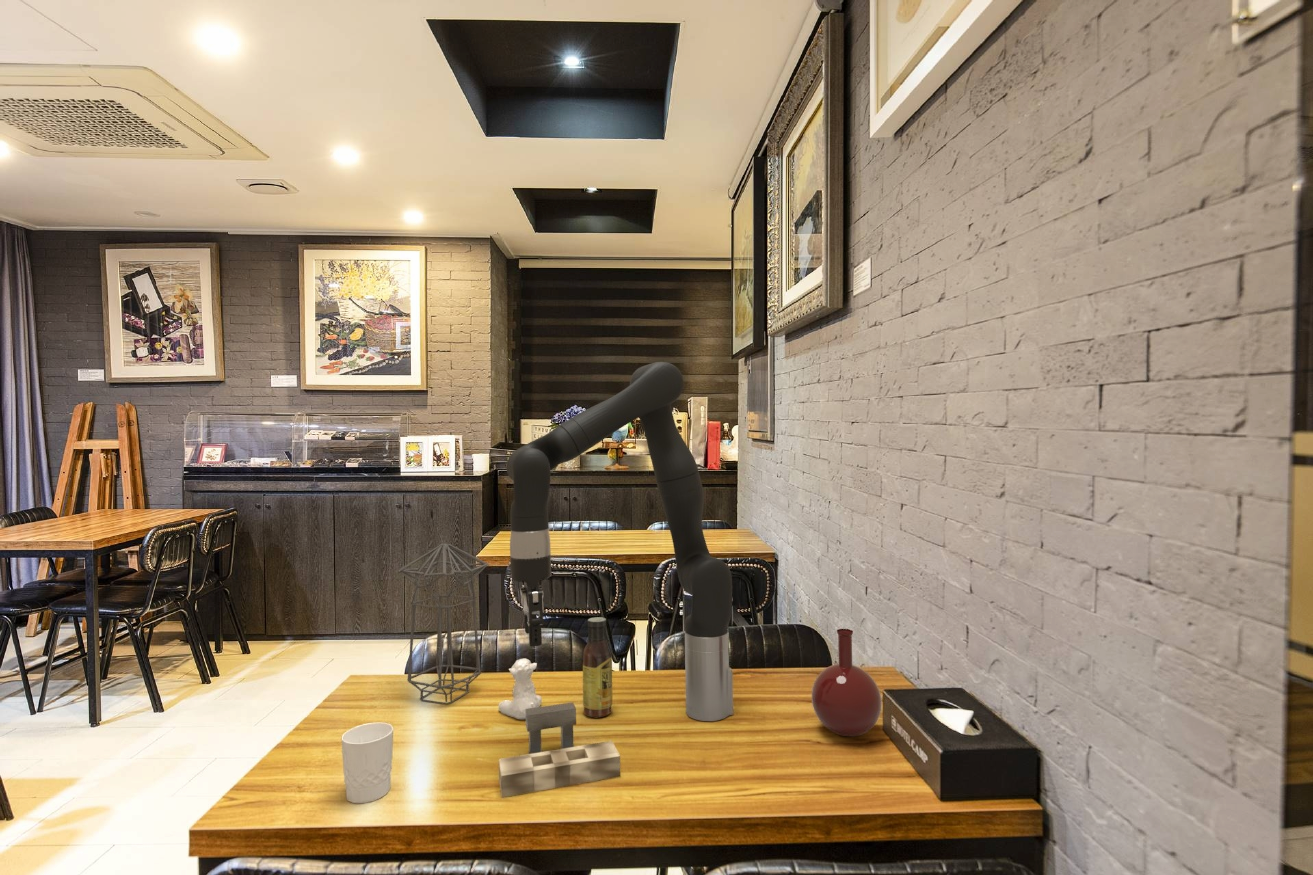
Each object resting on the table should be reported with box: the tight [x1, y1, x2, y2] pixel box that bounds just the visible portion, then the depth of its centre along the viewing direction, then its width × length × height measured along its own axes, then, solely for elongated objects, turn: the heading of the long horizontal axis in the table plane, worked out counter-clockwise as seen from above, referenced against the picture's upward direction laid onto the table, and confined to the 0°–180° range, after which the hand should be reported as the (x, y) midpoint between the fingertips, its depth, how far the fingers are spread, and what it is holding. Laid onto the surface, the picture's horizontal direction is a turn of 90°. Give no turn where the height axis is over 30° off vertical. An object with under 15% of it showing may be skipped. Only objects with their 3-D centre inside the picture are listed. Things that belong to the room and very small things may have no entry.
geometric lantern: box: [398, 543, 490, 706], centre depth 148 cm, size 16×16×35 cm
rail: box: [498, 740, 621, 798], centre depth 110 cm, size 20×6×4 cm, turn 108°
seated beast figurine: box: [498, 657, 542, 721], centre depth 137 cm, size 10×9×12 cm
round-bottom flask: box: [811, 628, 883, 737], centre depth 126 cm, size 13×13×20 cm
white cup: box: [341, 722, 394, 804], centre depth 107 cm, size 8×8×10 cm
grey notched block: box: [525, 702, 577, 754], centre depth 120 cm, size 9×3×8 cm, turn 108°
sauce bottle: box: [582, 616, 613, 719], centre depth 137 cm, size 7×6×20 cm
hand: (533, 638), depth 121 cm, fingers open, 8 cm apart
